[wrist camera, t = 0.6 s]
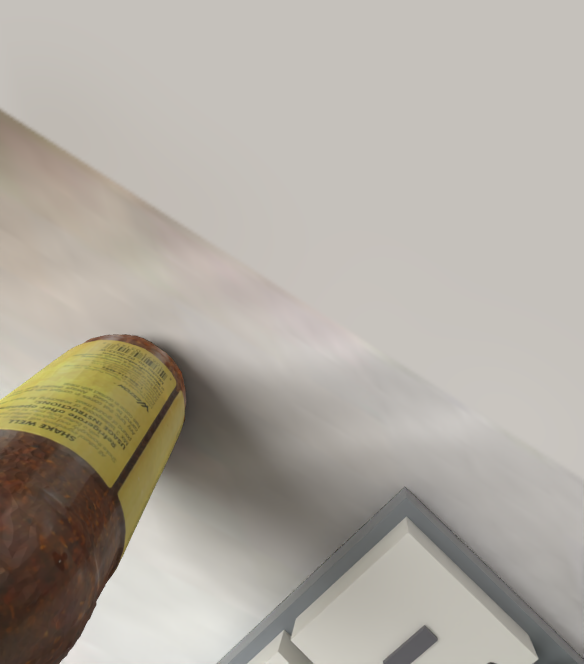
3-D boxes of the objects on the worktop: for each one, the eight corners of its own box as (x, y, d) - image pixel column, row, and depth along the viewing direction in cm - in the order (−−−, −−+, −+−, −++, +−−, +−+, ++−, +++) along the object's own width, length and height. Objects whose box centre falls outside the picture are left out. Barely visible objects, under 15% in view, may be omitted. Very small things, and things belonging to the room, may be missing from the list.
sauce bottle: (40, 350, 25) (-835, 834, 6) (166, 312, 25) (-341, 706, 5) (93, 474, 27) (-473, 1195, 7) (214, 440, 26) (-52, 1125, 7)
